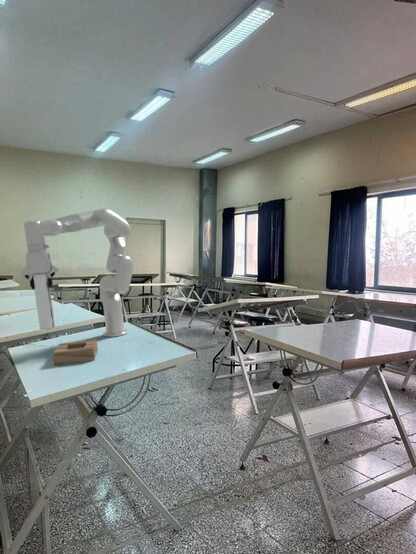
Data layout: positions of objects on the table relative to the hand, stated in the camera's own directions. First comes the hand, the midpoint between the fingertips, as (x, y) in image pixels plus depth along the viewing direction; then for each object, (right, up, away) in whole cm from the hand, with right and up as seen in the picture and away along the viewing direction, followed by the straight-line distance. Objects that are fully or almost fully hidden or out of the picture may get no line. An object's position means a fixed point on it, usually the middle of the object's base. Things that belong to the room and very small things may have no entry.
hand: (42, 287), depth 170 cm
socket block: (+18, -30, -6) cm, 36 cm away
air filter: (+2, -19, +2) cm, 19 cm away
